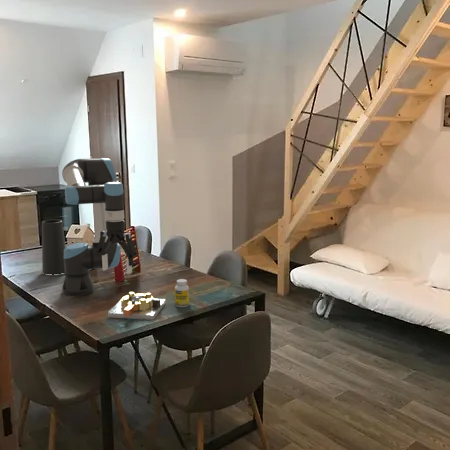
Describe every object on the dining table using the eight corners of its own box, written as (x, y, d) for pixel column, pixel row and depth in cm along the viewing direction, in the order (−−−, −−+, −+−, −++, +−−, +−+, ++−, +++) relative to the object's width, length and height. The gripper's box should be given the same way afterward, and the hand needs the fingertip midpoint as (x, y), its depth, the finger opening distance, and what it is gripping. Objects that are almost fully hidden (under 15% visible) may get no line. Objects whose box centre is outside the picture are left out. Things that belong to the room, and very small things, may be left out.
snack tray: (127, 299, 234) (127, 290, 233) (156, 300, 232) (156, 291, 231) (111, 315, 214) (111, 306, 213) (142, 317, 212) (142, 308, 211)
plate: (107, 317, 218) (107, 303, 217) (123, 301, 238) (123, 288, 237) (154, 319, 215) (154, 306, 214) (166, 303, 235) (166, 290, 234)
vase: (73, 271, 286) (70, 220, 280) (53, 277, 275) (50, 224, 269) (57, 267, 293) (53, 218, 287) (37, 273, 282) (33, 221, 276)
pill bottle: (172, 306, 231) (171, 281, 229) (178, 301, 237) (178, 277, 235) (185, 308, 229) (185, 283, 226) (191, 303, 235) (191, 279, 232)
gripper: (85, 219, 212) (88, 270, 216) (134, 223, 202) (136, 277, 207) (96, 216, 218) (99, 266, 223) (144, 220, 209) (146, 272, 213)
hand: (117, 271), depth 215 cm, fingers open, 11 cm apart
